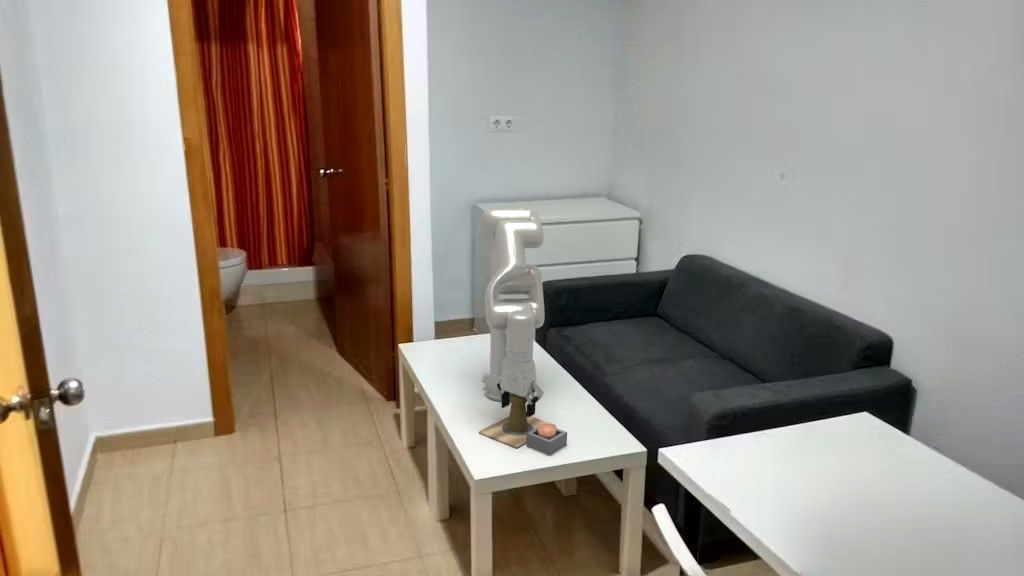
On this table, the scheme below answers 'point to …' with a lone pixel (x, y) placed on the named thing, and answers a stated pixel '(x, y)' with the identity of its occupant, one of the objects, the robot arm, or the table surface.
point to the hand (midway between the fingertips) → (518, 410)
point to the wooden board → (507, 437)
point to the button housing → (546, 441)
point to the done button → (547, 431)
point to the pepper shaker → (517, 414)
